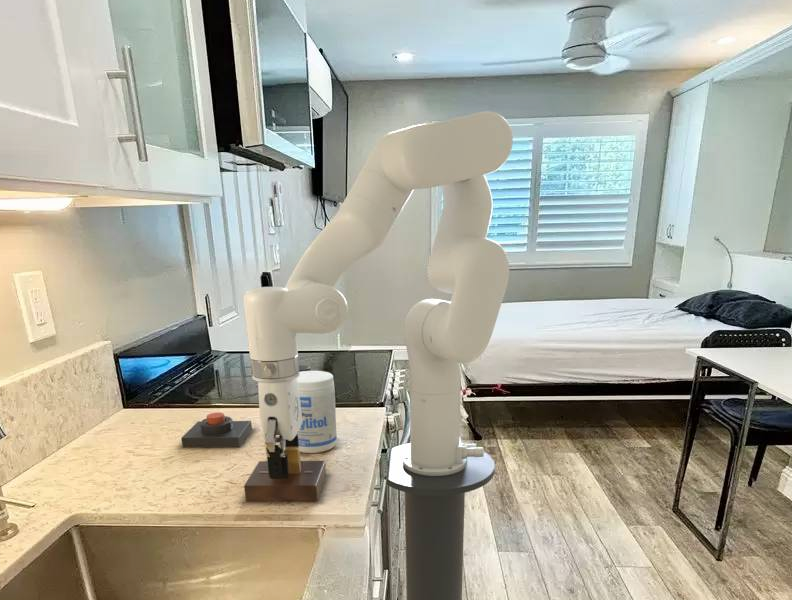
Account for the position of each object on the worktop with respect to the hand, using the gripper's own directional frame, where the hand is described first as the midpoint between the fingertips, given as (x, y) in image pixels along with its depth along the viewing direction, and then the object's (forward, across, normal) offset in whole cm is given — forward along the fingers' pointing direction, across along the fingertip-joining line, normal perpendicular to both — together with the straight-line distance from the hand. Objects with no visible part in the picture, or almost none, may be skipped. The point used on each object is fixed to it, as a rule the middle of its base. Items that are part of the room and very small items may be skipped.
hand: (285, 466), depth 98 cm
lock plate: (+4, 0, 0) cm, 4 cm away
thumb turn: (+1, 0, 0) cm, 1 cm away
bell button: (+1, +24, +20) cm, 31 cm away
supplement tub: (+4, +20, -2) cm, 20 cm away
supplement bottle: (+4, +37, +4) cm, 37 cm away
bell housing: (+4, +24, +20) cm, 31 cm away
